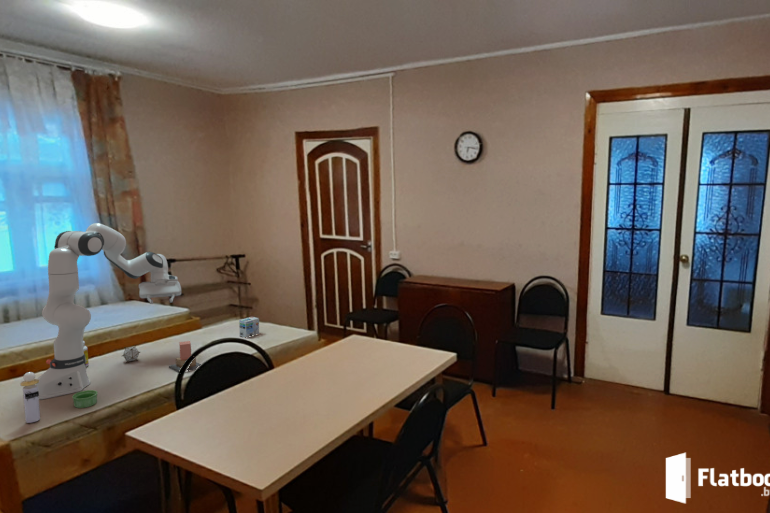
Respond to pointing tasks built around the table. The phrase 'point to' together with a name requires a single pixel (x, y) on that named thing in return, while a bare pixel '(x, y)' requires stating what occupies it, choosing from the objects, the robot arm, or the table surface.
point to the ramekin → (85, 398)
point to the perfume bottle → (31, 397)
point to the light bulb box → (249, 326)
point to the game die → (131, 354)
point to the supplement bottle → (85, 354)
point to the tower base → (180, 363)
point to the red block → (185, 350)
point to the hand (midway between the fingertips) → (161, 302)
